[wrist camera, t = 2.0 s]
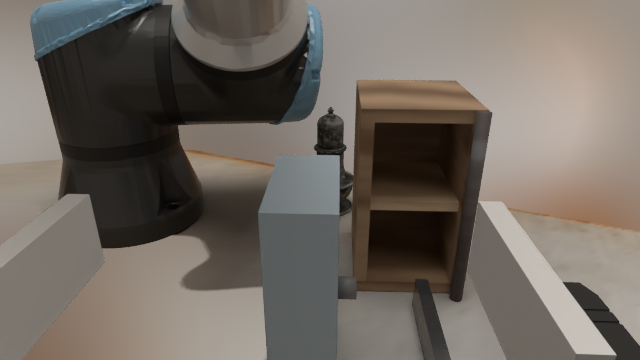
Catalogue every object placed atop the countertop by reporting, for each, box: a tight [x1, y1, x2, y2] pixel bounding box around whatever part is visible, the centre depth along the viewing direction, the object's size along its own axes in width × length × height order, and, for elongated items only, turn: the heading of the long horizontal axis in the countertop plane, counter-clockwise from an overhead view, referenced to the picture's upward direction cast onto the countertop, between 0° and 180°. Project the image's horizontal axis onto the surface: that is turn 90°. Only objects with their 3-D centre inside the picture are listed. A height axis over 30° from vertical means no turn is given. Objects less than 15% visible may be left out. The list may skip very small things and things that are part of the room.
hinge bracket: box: [412, 279, 451, 360], centre depth 32 cm, size 9×8×2 cm
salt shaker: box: [314, 107, 353, 216], centre depth 50 cm, size 6×6×12 cm
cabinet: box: [352, 80, 492, 302], centre depth 39 cm, size 11×9×16 cm
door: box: [258, 155, 357, 360], centre depth 28 cm, size 8×5×14 cm, turn 178°
